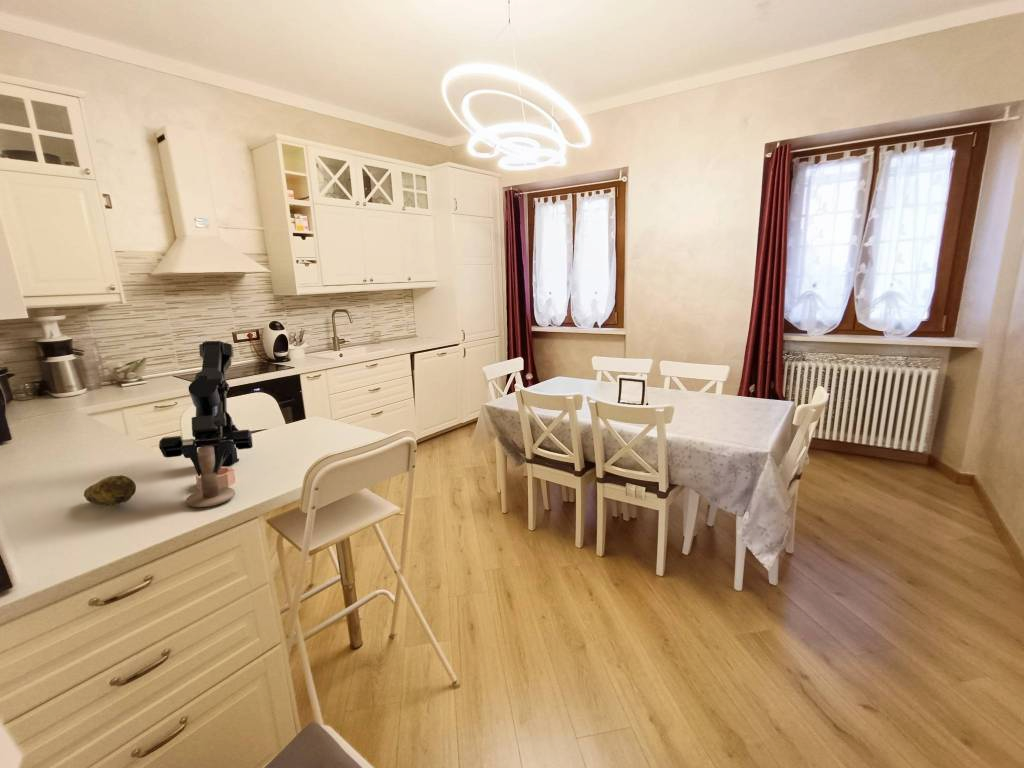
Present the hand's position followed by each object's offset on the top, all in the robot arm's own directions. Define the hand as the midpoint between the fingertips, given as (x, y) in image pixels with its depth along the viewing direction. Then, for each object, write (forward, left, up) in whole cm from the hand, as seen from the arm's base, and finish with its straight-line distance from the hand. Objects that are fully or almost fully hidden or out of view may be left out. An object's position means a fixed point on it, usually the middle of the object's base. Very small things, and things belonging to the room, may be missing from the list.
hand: (207, 474), depth 107 cm
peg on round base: (-1, +1, -7) cm, 7 cm away
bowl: (-5, +11, -7) cm, 15 cm away
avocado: (-22, -2, -8) cm, 23 cm away
